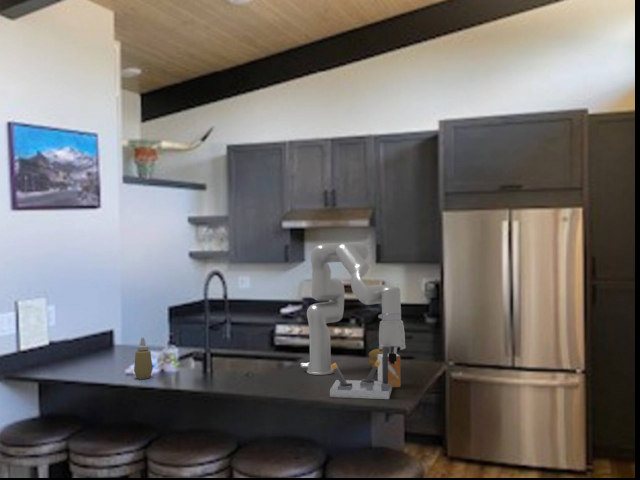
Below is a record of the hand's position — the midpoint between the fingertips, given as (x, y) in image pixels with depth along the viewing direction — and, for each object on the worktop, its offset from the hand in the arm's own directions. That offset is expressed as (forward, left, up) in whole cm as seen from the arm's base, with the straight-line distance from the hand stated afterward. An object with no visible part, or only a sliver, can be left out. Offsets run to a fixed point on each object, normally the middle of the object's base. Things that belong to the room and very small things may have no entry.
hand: (392, 363), depth 262 cm
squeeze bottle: (-112, +12, -12) cm, 114 cm away
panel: (-12, -2, -12) cm, 17 cm away
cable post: (-2, -7, -9) cm, 11 cm away
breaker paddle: (-10, 0, -8) cm, 13 cm away
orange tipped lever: (-18, -7, -8) cm, 21 cm away
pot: (-8, +42, -12) cm, 44 cm away
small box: (-2, +10, -12) cm, 16 cm away
